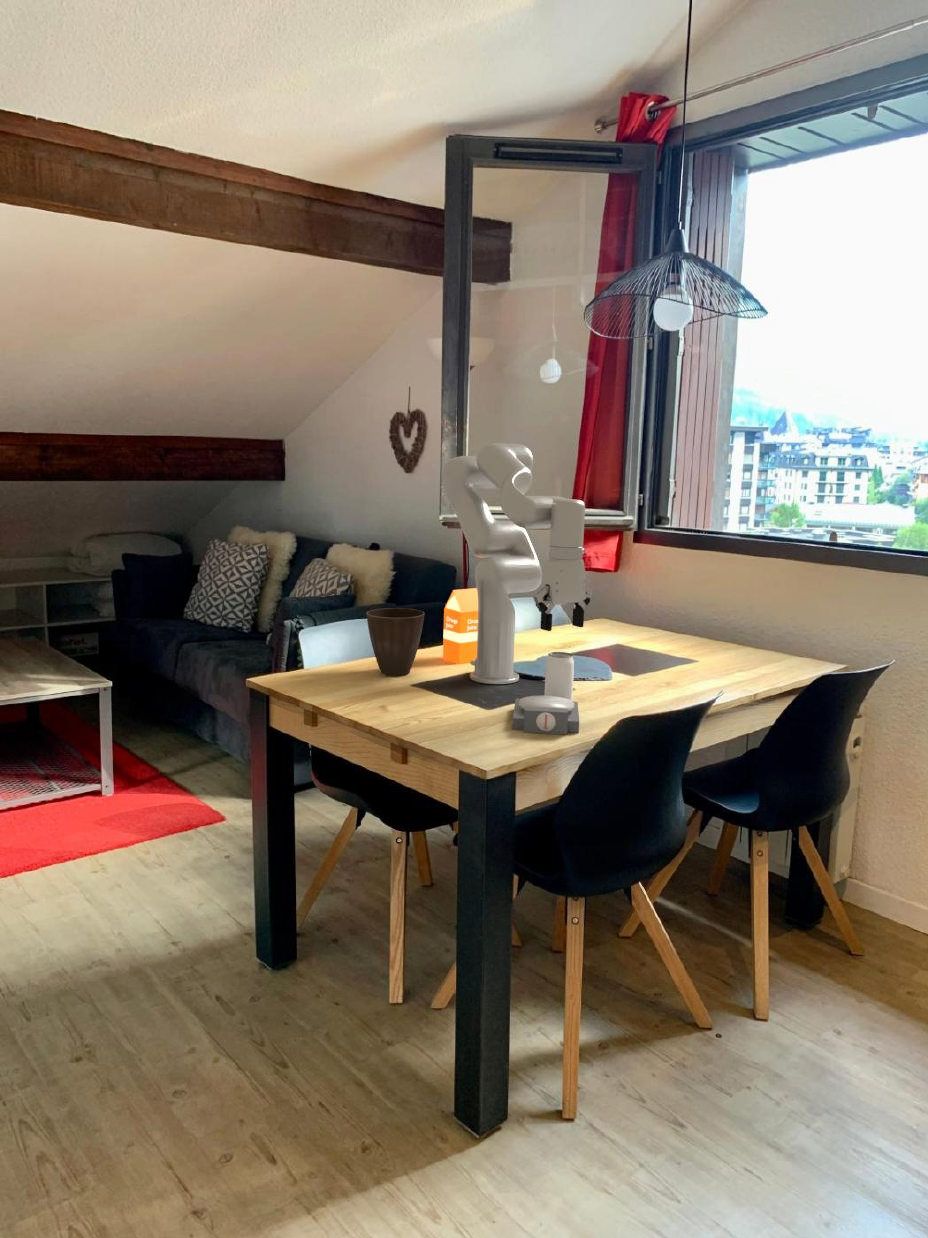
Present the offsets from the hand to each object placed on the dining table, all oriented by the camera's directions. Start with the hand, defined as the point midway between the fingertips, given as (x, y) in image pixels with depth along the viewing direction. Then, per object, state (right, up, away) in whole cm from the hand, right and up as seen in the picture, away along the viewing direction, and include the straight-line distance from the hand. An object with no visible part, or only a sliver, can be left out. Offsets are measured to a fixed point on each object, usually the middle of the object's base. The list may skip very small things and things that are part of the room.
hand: (562, 628), depth 218 cm
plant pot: (-41, -12, +29) cm, 52 cm away
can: (-1, -18, +3) cm, 18 cm away
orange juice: (-23, -10, +47) cm, 53 cm away
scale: (-5, -20, -11) cm, 24 cm away
